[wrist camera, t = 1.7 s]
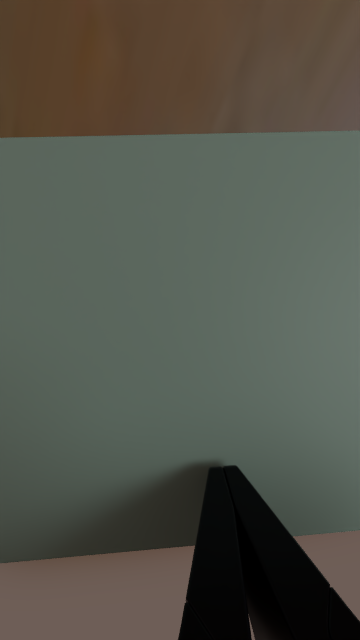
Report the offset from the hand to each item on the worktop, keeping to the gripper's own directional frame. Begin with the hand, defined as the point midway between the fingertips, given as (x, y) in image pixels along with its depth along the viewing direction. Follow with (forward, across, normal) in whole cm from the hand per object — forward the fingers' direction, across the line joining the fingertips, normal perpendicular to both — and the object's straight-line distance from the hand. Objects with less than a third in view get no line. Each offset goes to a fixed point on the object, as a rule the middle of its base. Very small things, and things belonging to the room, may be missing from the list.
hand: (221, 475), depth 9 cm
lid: (+3, 0, -3) cm, 5 cm away
